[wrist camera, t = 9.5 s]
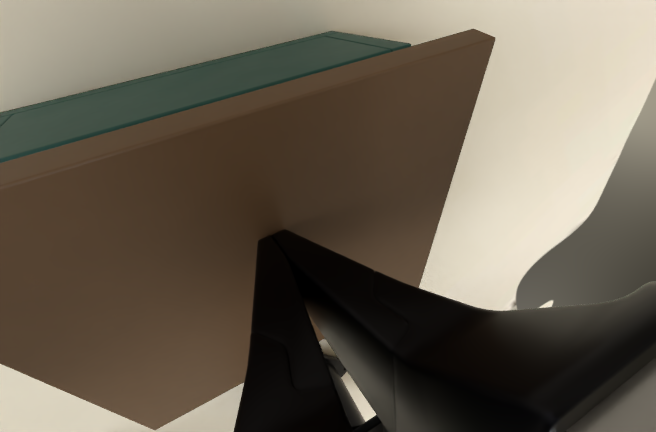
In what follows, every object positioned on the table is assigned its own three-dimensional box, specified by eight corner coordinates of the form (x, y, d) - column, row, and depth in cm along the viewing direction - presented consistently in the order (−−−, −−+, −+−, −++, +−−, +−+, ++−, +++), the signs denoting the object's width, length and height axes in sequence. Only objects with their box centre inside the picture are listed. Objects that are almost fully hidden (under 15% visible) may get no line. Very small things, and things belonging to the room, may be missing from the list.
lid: (-213, 221, 5) (-245, 260, 4) (473, 27, 9) (496, 37, 8) (151, 411, 14) (154, 430, 14) (409, 276, 18) (419, 287, 18)
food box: (-9, 114, 12) (-92, 184, 7) (332, 30, 15) (411, 43, 11) (147, 314, 19) (152, 411, 14) (355, 222, 22) (409, 276, 18)
